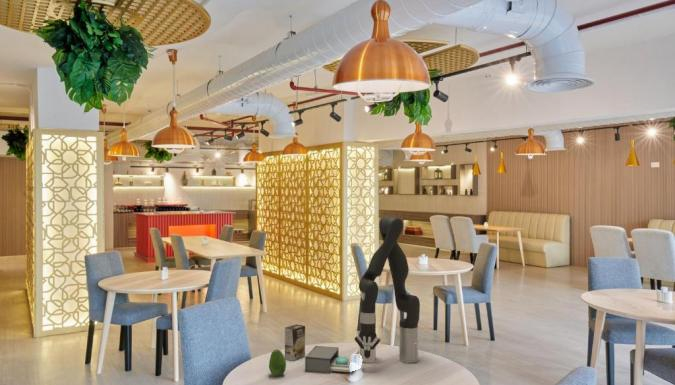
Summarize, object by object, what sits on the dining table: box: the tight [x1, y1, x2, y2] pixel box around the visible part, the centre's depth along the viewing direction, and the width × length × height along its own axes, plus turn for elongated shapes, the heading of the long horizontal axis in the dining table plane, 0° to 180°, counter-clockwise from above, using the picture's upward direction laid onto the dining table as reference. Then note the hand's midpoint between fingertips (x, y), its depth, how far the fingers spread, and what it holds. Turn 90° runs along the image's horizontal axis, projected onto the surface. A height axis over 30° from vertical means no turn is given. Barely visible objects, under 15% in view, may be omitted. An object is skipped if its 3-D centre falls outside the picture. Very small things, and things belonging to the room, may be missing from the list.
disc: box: [336, 356, 349, 365], centre depth 257 cm, size 6×6×2 cm
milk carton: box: [359, 338, 377, 364], centre depth 268 cm, size 7×7×19 cm
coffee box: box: [284, 324, 306, 362], centre depth 272 cm, size 9×6×16 cm
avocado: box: [268, 349, 287, 377], centre depth 247 cm, size 8×8×12 cm
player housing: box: [304, 345, 340, 375], centre depth 259 cm, size 12×18×7 cm, turn 166°
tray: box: [330, 349, 360, 373], centre depth 257 cm, size 12×17×6 cm
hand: (367, 357), depth 254 cm, fingers closed
